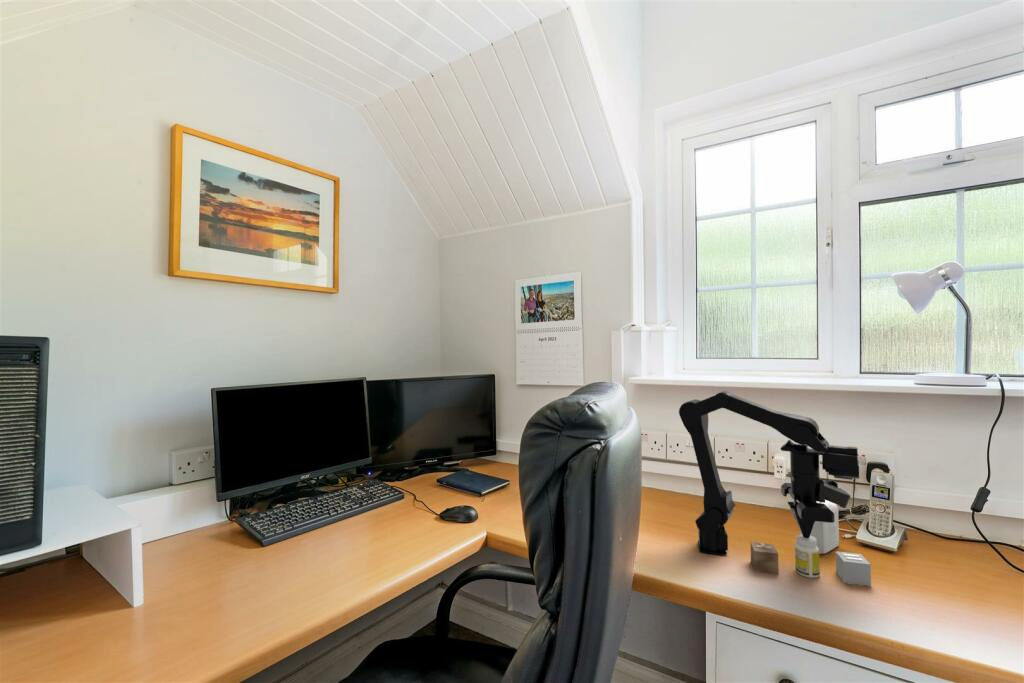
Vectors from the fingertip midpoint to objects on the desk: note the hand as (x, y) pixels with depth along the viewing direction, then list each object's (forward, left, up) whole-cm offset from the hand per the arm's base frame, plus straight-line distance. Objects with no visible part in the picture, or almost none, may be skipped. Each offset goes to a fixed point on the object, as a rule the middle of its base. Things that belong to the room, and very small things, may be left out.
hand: (806, 537), depth 105 cm
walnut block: (-9, 0, -8) cm, 12 cm away
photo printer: (+8, +16, -9) cm, 20 cm away
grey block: (+9, 0, -8) cm, 12 cm away
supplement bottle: (0, 0, -9) cm, 9 cm away
